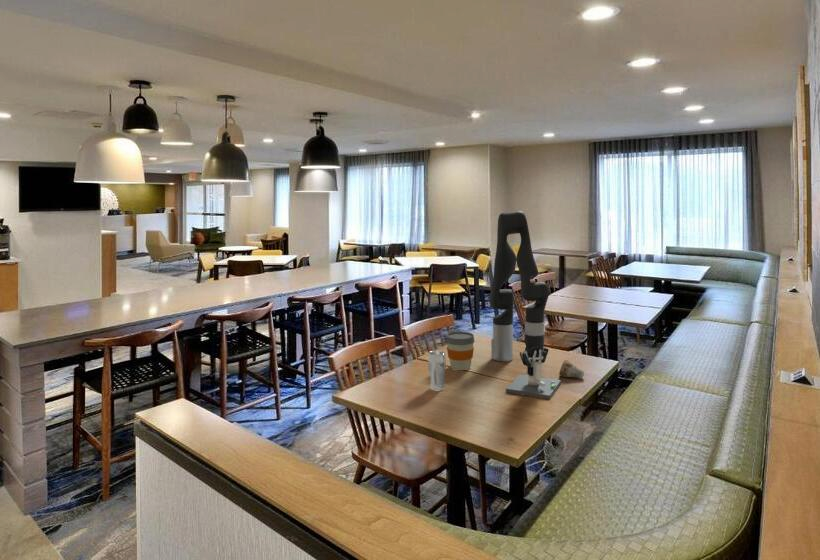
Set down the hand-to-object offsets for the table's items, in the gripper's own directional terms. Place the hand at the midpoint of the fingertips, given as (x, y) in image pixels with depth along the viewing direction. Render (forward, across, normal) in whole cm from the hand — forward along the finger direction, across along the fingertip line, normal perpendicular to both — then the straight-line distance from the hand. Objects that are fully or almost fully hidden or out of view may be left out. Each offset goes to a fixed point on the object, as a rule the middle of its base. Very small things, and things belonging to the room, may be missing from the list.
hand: (534, 374), depth 206 cm
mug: (+6, +22, 0) cm, 23 cm away
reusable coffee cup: (+6, -9, +37) cm, 39 cm away
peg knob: (+4, 0, -2) cm, 4 cm away
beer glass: (+6, -32, +21) cm, 39 cm away
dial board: (+6, 0, 0) cm, 6 cm away
